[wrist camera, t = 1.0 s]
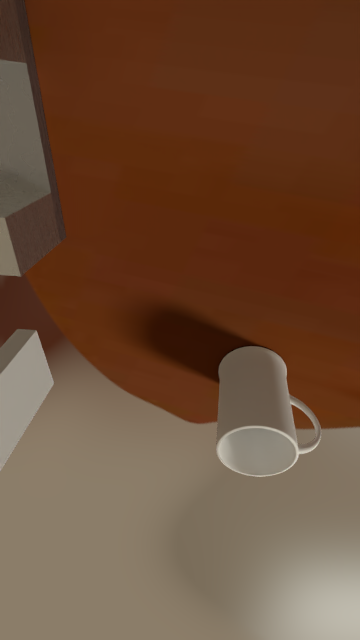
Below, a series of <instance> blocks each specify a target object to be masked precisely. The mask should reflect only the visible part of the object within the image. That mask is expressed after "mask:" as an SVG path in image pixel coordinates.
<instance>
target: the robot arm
mask: <svg viewBox="0 0 360 640" xmlns="http://www.w3.org/2000/svg"><path fill="white" fill-rule="evenodd" d="M53 384H54V382H53V379H52V376H51V373H50V370H49V367H48V364H47V361H46V358H45V355H44V352H43V349H42V346H41V343H40V340H39V337H38V334H37V331H36V330H23V329H17V330H16V331H15V333H14V334H13V335H12V336H11V337H10V338H9V339H8V340H7V341H6V342H5V344H4V345H3V346H2V347H1V348H0V471H1V469H2V467H3V466H4V464H5V462H6V461H7V459H8V458H9V456H10V454H11V453H12V451H13V449H14V448H15V446H16V444H17V443H18V441H19V440H20V438H21V436H22V435H23V433H24V431H25V430H26V428H27V427H28V425H29V423H30V422H31V420H32V418H33V417H34V415H35V414H36V412H37V410H38V409H39V407H40V405H41V404H42V402H43V401H44V399H45V397H46V396H47V394H48V392H49V391H50V389H51V387H52V386H53Z"/></svg>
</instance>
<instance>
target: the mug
mask: <svg viewBox="0 0 360 640" xmlns="http://www.w3.org/2000/svg"><path fill="white" fill-rule="evenodd" d="M218 374H219V379H220V387H219V406H218V424H217V443H216V452H217V455H218V457H219V459H220V461H221V462H222V463H223V464H224V465H225V466H227V467H228V468H230V469H231V470H233V471H236V472H238V473H241V474H244V475H249V476H271V475H276V474H279V473H282V472H284V471H286V470H288V469H289V468H291V467H292V466H293V465H294V463H295V462H296V461H297V459H298V455H299V454H303V453H307V452H310V451H312V450H313V449H314V448H316V446H317V445H318V444H319V441H320V439H321V427H320V424H319V421H318V419H317V418H316V416H315V414H314V413H313V412H312V411H311V410H310V408H309V407H307V406H306V405H305V404H304V403H303V402H301V401H300V400H298V399H297V398H295V397H293V396H291V395H289V392H288V386H287V380H286V376H287V369H286V365H285V363H284V361H283V360H282V358H281V357H280V356H279V355H278V354H276V353H275V352H273V351H271V350H269V349H267V348H263V347H258V346H247V347H241V348H238V349H236V350H233V351H232V352H230V353H228V354H227V355H226V356H225V357H224V358H223V359H222V361H221V363H220V365H219V370H218ZM291 404H292V405H294V406H296V407H298V408H299V409H301V410H302V411H303V412H304V413H305V414H306V415H307V416H308V417H309V418H310V419H311V421H312V423H313V425H314V427H315V431H316V436H315V438H314V440H313V441H312V442H310V443H307V444H298V443H297V437H296V432H295V426H294V420H293V415H292V409H291Z"/></svg>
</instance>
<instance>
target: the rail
mask: <svg viewBox="0 0 360 640" xmlns="http://www.w3.org/2000/svg"><path fill="white" fill-rule="evenodd" d="M65 238H66V234H65V228H64V222H63V217H62V211H61V205H60V200H59V194H58V189H57V183H56V177H55V172H54V166H53V160H52V155H51V149H50V144H49V138H48V132H47V127H46V121H45V115H44V110H43V104H42V99H41V93H40V87H39V82H38V76H37V70H36V65H35V59H34V54H33V48H32V42H31V37H30V31H29V25H28V20H27V14H26V9H25V3H24V0H0V275H11V276H22V275H23V274H24V273H25V272H26V271H27V270H29V269H30V268H31V267H32V266H33V265H34V264H36V263H37V262H38V261H39V260H40V259H41V258H43V257H44V256H45V255H46V254H47V253H48V252H50V251H51V250H52V249H53V248H54V247H55V246H57V245H58V244H59V243H60V242H61V241H62V240H64V239H65Z"/></svg>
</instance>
